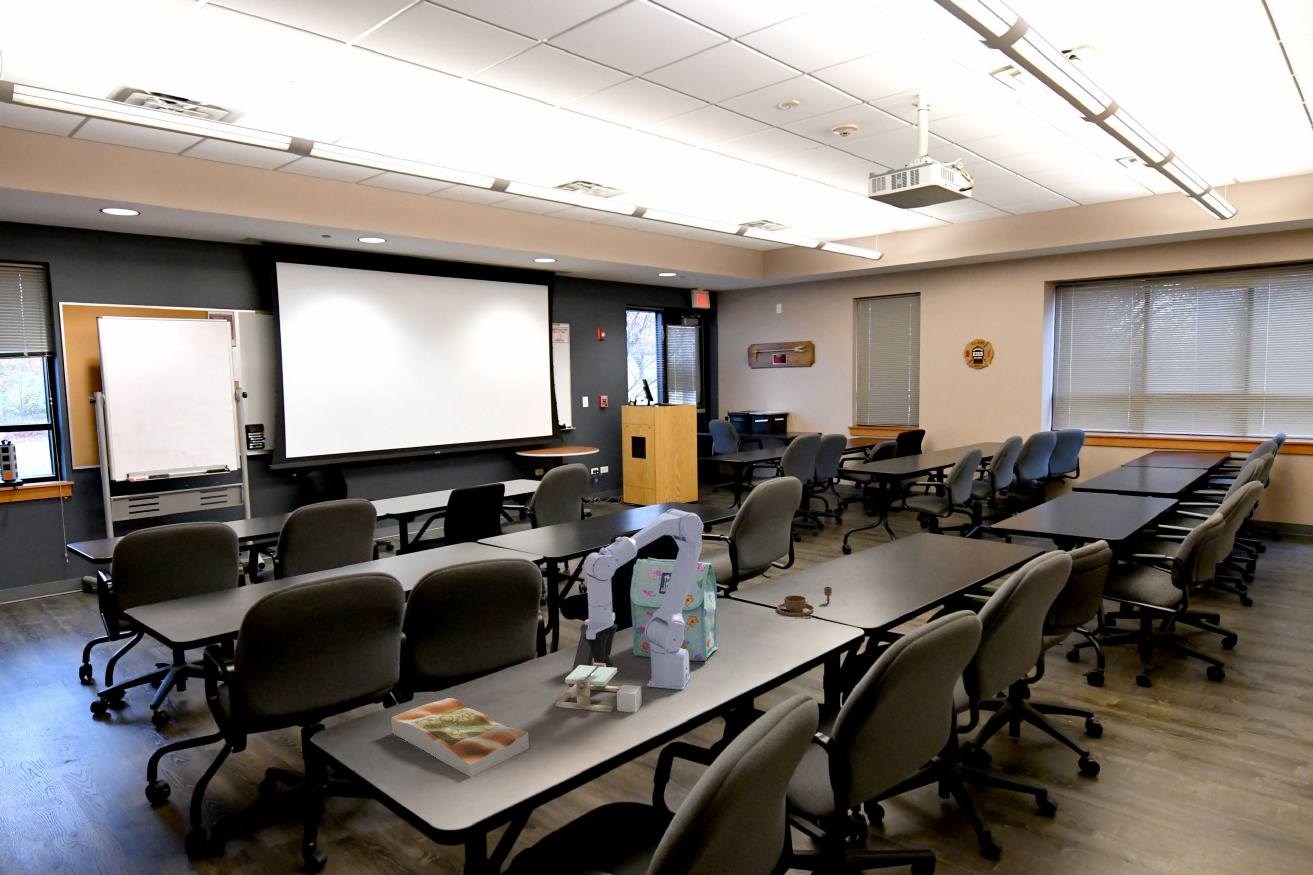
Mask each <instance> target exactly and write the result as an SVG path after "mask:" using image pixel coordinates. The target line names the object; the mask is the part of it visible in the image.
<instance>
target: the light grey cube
mask: <svg viewBox="0 0 1313 875" xmlns="http://www.w3.org/2000/svg"><path fill="white" fill-rule="evenodd" d="M620 687H621V688H620V689H619V690H618V691H617V692H616V708H617V709H616V710H617V711H618V712H627V713H637V711H638V710H639V709H640V708H641V706H642V686H639V685H629V684H623V685H622V686H620ZM617 711H616V712H617Z"/></svg>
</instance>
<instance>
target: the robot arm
mask: <svg viewBox="0 0 1313 875" xmlns="http://www.w3.org/2000/svg"><path fill="white" fill-rule="evenodd" d="M704 527H705V525H704V524H703V521H702V519H701V518H700V516H699V515H698V514H697V513H694V512H687V511H683V510H679V509H678V508H670V509H668V510H666V511H665V512H663V513H660V514H659V516H658V517H657V518H656V519H654V521H652V522H650V523H648V525H647V526H645V527H643V528H642V529H640V530H639V531H638V532H637V533H635V534H634V535H632V536H630V537H628V536H618V537H617V538H615V541H614V542H613V543H610V544H609V545H608V546H606V547H602V548H600V549H599V552H591V553H589V555H587V556H586V558H585V560H584V561H583V564H582V565H581V567H582V571H583V573H584V574H585V575H586V580H587V602H588V603H587V604H588V606H587V607H588V618H587V619H586V620H584V624H586V625H588V629H587V631H586V634H585V640H586V641H587V643H588V644H589V646H590V649H591V652H592V655H593V663H594V662H595V663H603V662H604V657H605V656H610V655H611V653H612V647H613V641H614V638H615V634H616V632H617V630H618V628H619V627H618V624H616V623H614V621H615V620H616V613H615V612H613V592H612V589H613V588H612V578H613V576H614V575H615V573H616V571H617V569H619V568H620V567H621V566H624V565H625V564H627V563H629V562H630V561H631V560H633V559H634V558H636V557H637V554H638V550H640V549H641V548H643V547H645V546H646V545H649V544H650V543H652V542H654V541H655V540H658V539H659V538H661V537H663V536H671V537H672V538H673V540H674V541H675V543H676V545H677V547H678V552H677V556H676V559H675V560H676V561H675V565H674V568H673V571H672V574H671V577H670V580H669V583H668V587H667V590H666V593H665V596H664V599H663V602H662V606H661V608H659V609H658V610H656V611H655V612H654V613H653V616H652V618H651V620H650V621H649V622H648V624H647V625H646V628H645V635H646V638H647V639H648V640H649V641H650V646H651V657H650V665H651V667H650V668H651V678H650V680H649V681H648V683H647V684H646V687H647V688H657V689H658V688H660V689H670V690H682V691H683V690H684V689H685V687H686V685H687V684H688V683H689V681H690V679H691V676H690V660H689V653H688V650H686V649H682V648H680V647H681V646H682V644H683V641H684V627H685V622H684V620H683V617H682V611H683V607H684V604H685V601H686V598H687V595H688V591H689V588H690V585H691V582H692V579H693V575H694V572H695V569H696V566H697V563H698V562H699V558H700V556H701V554H702V549H703V539H702V538H703V537H702V534H703V531H704ZM667 622H668V623H667Z"/></svg>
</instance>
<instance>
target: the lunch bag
mask: <svg viewBox="0 0 1313 875" xmlns="http://www.w3.org/2000/svg"><path fill="white" fill-rule="evenodd" d="M675 561H676V559H657V558H652V557H648V558H646V559H645V558H643V559H640V558H638V559H637V560H636V562H635V564H633V570H632V576H631V577H632V578H631V583H630V584H631V585H630V593H629V595H630V606H631V608H630V610H631V622H632V634H633V636H632V637H633V642H632V648H633V649H632V655H633V656H639V657H645V658H651V646H650V641H649V640H648V639H647V638H646V635H645V628H646V625H647V624H648V622H649V621H650V620H651V618H652V616H653V613H654V612H655V611H656V610H658V609H659V608H661V606H662V602H663V599H664V596H665V593H666V590H667V587H668V583H669V580H670V577H671V574H672V571H673V568H674V565H675ZM713 567H714V566H713V564H712V563H711V562H704V561H698V563H697V566H696V569H695V572H694V575H693V579H692V582H691V585H690V588H689V591H688V595H687V598H686V601H685V604H684V607H683V611H682V617H683V620H684V622H685V627H684V641H683V644H682V646H681V647H680V648H682V649H686V650H688V653H689V661H695V662H697V661H698V662H702V661H707V660H708V657H710V656H711V654H712V653H713V652H714V651H717V650H718V648H719V647H718V643H717V612H718V611H717V610H718V609H717V603H718V602H717V599H718V593H717V591H718V590H717V580H716V575H715V571H714V568H713ZM667 623H668V622H667Z"/></svg>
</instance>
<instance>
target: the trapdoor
mask: <svg viewBox="0 0 1313 875" xmlns="http://www.w3.org/2000/svg"><path fill="white" fill-rule="evenodd" d="M617 673H618V667H612V668H611V667H599V666H585V665H579V666H578V667H577V668H576V669H575V670H572V671H571V673H569V674H568V676H566V677H565V679H564V684H568V687H570V688H571V687H573V686H574V685H575V684H576V681H577V680H588V681H590V685H595V686H605V685H606V684H607V685H608V683H609V682H610V681H611V680H612V678H614V676H615V675H616V674H617Z"/></svg>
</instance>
